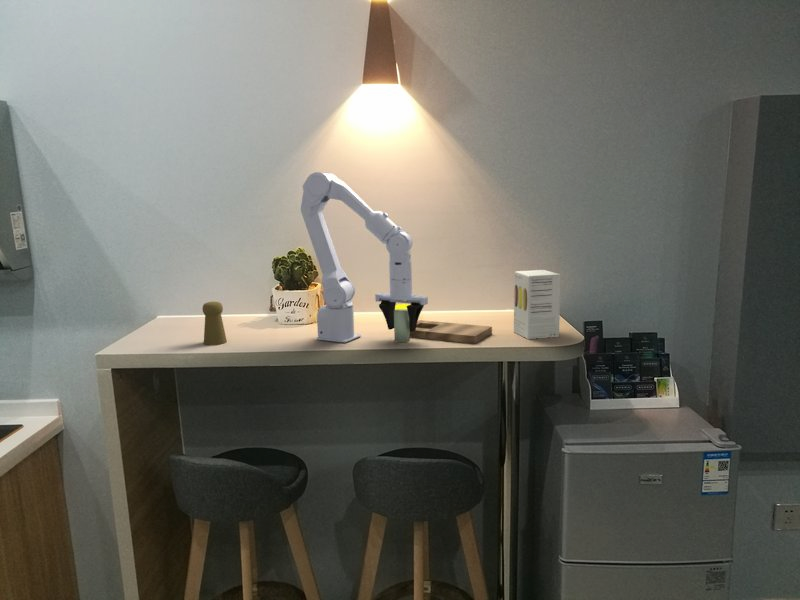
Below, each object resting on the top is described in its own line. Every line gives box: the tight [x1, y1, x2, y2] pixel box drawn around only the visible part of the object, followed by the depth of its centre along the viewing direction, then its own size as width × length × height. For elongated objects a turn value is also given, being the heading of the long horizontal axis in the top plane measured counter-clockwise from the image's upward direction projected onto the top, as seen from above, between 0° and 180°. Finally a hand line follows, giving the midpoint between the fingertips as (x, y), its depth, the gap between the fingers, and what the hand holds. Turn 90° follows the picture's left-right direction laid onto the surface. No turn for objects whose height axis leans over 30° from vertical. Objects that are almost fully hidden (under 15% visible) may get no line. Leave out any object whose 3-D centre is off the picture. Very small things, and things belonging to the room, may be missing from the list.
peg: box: [393, 308, 411, 343], centre depth 168 cm, size 4×4×8 cm
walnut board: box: [410, 319, 493, 345], centre depth 173 cm, size 22×12×2 cm, turn 61°
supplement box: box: [513, 269, 562, 340], centre depth 170 cm, size 10×9×17 cm
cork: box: [202, 301, 227, 346], centre depth 170 cm, size 6×6×11 cm
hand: (401, 329), depth 168 cm, fingers open, 6 cm apart
